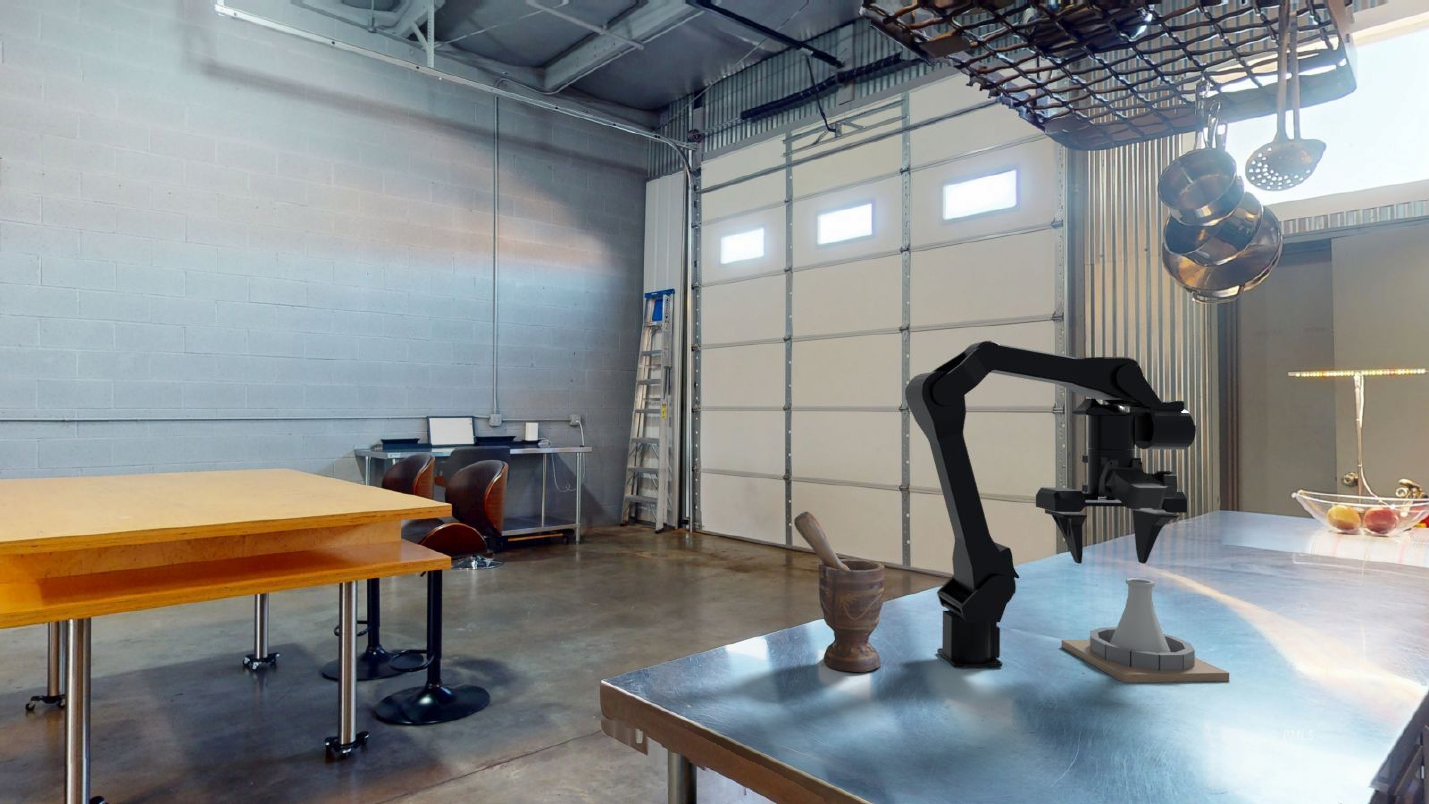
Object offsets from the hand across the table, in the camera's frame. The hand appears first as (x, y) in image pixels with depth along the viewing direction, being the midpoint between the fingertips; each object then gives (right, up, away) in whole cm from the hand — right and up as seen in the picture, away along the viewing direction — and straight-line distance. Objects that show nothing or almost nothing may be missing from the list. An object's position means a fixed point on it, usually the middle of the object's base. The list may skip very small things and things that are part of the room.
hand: (1110, 563), depth 101 cm
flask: (+3, -12, -2) cm, 13 cm away
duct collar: (+3, -13, -2) cm, 13 cm away
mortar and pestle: (-38, -13, -4) cm, 40 cm away
